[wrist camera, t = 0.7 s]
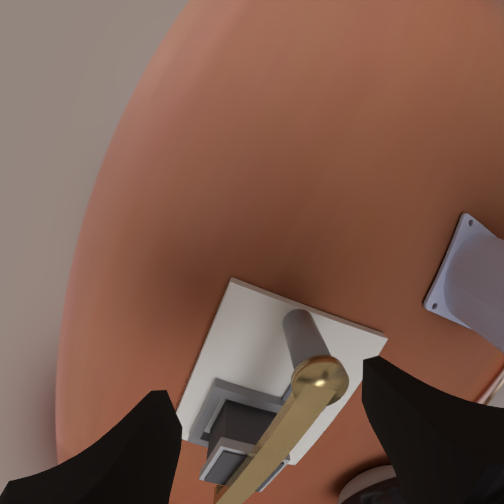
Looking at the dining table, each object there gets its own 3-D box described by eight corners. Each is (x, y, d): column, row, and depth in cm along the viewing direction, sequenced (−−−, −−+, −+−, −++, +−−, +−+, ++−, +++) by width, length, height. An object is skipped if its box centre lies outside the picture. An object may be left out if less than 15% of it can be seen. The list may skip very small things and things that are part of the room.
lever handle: (347, 352, 14) (359, 371, 12) (241, 493, 16) (241, 511, 15) (302, 337, 13) (309, 357, 12) (208, 486, 16) (206, 504, 14)
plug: (282, 408, 20) (290, 462, 15) (258, 443, 21) (260, 493, 16) (224, 392, 20) (220, 448, 14) (205, 429, 21) (198, 481, 15)
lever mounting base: (382, 332, 20) (425, 383, 14) (293, 457, 23) (303, 513, 16) (231, 276, 19) (224, 324, 12) (169, 426, 22) (154, 485, 15)
